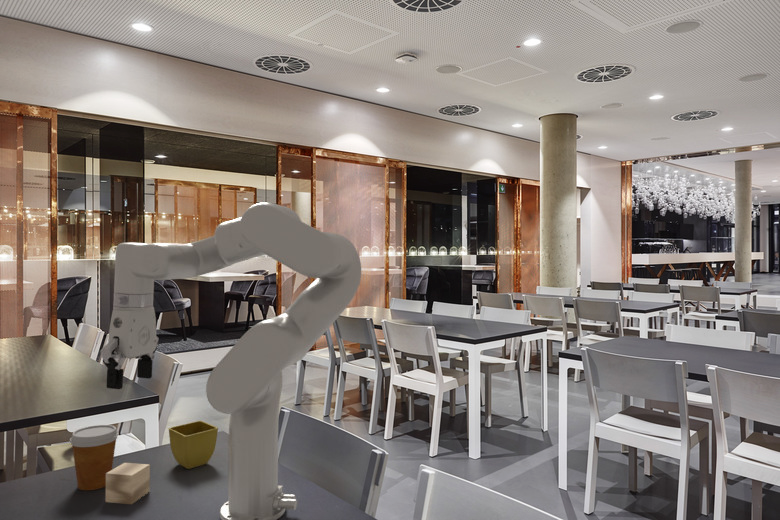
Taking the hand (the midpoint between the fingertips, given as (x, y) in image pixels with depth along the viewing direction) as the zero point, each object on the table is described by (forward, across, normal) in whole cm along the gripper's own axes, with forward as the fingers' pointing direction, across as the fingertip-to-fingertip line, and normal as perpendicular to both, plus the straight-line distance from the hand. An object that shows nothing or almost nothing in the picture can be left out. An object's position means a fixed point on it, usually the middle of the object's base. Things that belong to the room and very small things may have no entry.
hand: (130, 382), depth 112 cm
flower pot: (+24, +20, -4) cm, 32 cm away
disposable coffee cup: (+25, +5, +11) cm, 28 cm away
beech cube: (+24, +1, 0) cm, 24 cm away
